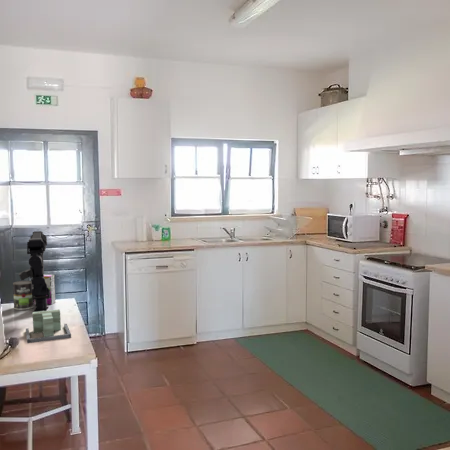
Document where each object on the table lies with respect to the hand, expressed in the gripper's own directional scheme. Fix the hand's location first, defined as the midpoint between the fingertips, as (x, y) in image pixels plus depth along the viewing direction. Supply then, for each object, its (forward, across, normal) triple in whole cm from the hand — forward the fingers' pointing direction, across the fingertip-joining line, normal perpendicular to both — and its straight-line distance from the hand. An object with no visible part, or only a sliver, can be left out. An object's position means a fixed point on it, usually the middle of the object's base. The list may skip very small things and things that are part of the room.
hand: (38, 294), depth 253 cm
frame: (+13, +26, +2) cm, 29 cm away
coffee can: (+13, -29, -6) cm, 32 cm away
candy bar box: (+13, -33, +5) cm, 36 cm away
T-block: (+13, +25, +2) cm, 28 cm away
